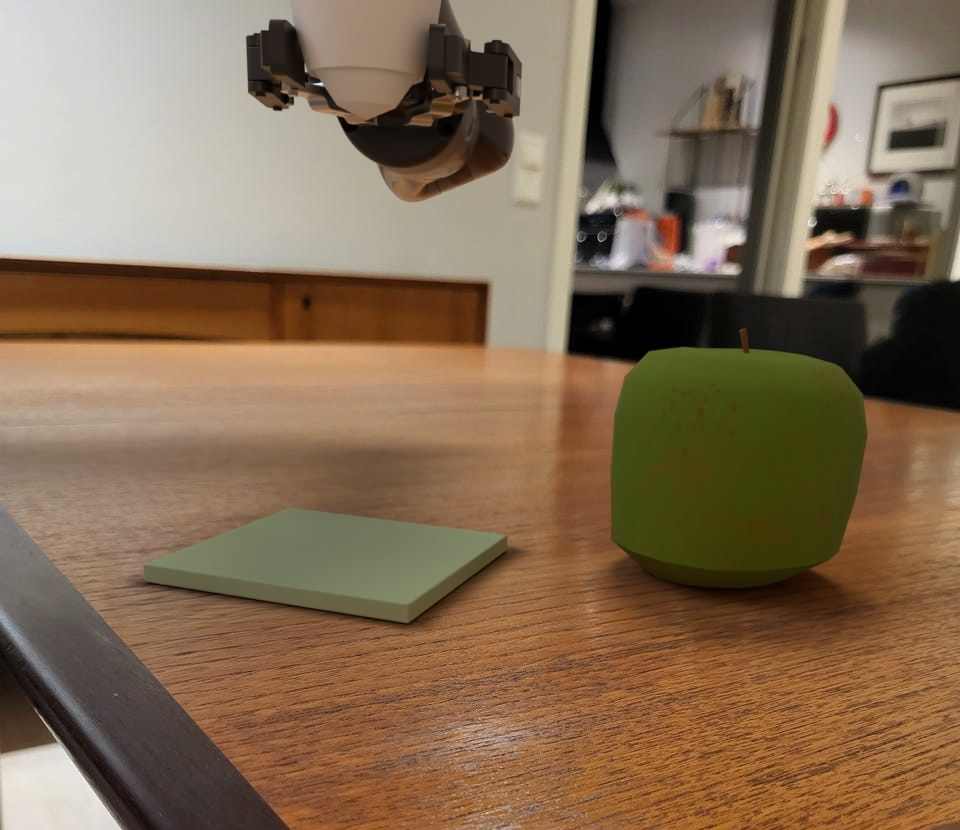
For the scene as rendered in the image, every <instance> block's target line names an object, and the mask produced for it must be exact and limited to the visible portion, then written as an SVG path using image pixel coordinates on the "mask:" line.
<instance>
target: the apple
mask: <svg viewBox="0 0 960 830" xmlns="http://www.w3.org/2000/svg"><path fill="white" fill-rule="evenodd" d="M738 332H739V336H740V342H741V347H742V348H724V347H723V348H719V347H718V348H715V347H714V348H713V347H712V348H708V347H690V346H689V347H688V346H681V347H672V348H663V349H656V350H649V351H648V352H647V353H645V355H644V356H643V357H642V358H641V359H640V360H639V361H638V362H637V363H636V364H635V365H634V366H633V367H632V368H631V369H630V370H629V371H628V372H627V373H626V374H625V375H624V377H623V380H622V384H621V388H620V393H619V396H618V400H617V403H616V407H615V411H614V415H613V416H614V417H613V431H612V443H611V445H612V447H611V458H610V522H611V524H610V525H611V526H610V527H611V528H610V540H611V541H612V542H613V543H614V544H616V546H618V547H619V548H620V550H622V551H624V552H625V553H626V554H627V555H628V556H629V557H630V558H631V559H633V561H635V562H636V563H638V564H639V565H640V567H642V568H643V569H644V570H645V571H647V572H648V573H650V574H651V575H653V576H654V577H655V578H657V579H660V580H663V581H667V582H670V583H674V584H677V585H682V586H692V587H700V588H701V587H702V588H710V589H714V588H715V589H746V588H756V587H763V586H764V587H765V586H770V585H773V584H776V583H778V582H781V581H784V580H787V579H789V578H792V577H794V576H796V575H799V574H800V573H803V572H806V571H809V570H811V569H813V568H815V567H818V566H820V565H822V564H824V563H827V562H829V561H831V560H832V559H833V558H834V557H835V556H836V555H838V553H840V549H841V546H842V543H843V540H844V538H845V537H844V536H845V534H846V531H847V528H848V524H849V521H850V518H851V514H852V511H853V508H854V505H855V501H856V499H857V495H858V490H859V485H860V479H861V474H862V469H863V463H864V457H865V452H866V445H867V442H868V434H869V433H868V425H867V418H866V409H865V401H864V394H863V392H862V391H861V390H860V389H859V387H858V386H857V385H856V384H855V383H854V381H853V380H852V379H851V378H850V376H849V375H848V373H847V372H846V371H845V370H844V369H843V368H842V367H841V366H839V365H838V364H836V363H833V362H830V361H826V360H822V359H819V358H816V357H812V356H808V355H804V354H801V353H794V352H785V351H777V350H770V349H769V350H768V349H767V350H766V349H756V348H755V349H754V348H750V347H749V338H748V329H747V327H743V328H742V329H741V328H740V329H739V331H738Z"/></svg>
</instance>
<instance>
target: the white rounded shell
mask: <svg viewBox="0 0 960 830" xmlns="http://www.w3.org/2000/svg"><path fill="white" fill-rule="evenodd" d="M289 2H290V10H291V15H292V22H293V26H294V27H295V29H296V33H297V36H298V40H299V43H300V47H301V50H302V54H303V57H304V61H305V69H306V72H308V73H309V74H310V76H312V77H315V78H318V79H320V80H321V82H322V83H323V85H324V86H325V88H326V89H327V91H328V92H329V94H330V96H331V97H332V99H333V100H334V102H335V103H336V104H337V106H339V107H341V108H343V109H345V110H347V111H349V112H351V113H353V114H355V115H356V116H358V117H360V118H362V119H364V120H368V119H371V118H373V117H375V116H378V115H380V114H383V113H385V112H387V111H390V110H392V109H395V108H396V107H397V105H398V104H399V103H400V101H401V100H402V98H403V97H404V96H405V94H406V93H407V91H408V90H409V89H410V87H411V86H412V85H414V84H417V83H420V82H422V81H423V78H424V75H425V71H426V68H427V64H428V61H429V26H430V24H438V18H439V12H440V5H441V0H289Z"/></svg>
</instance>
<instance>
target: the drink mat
mask: <svg viewBox="0 0 960 830" xmlns="http://www.w3.org/2000/svg"><path fill="white" fill-rule="evenodd" d="M508 537H509V536H508V535H507V534H505V533H498V532H497V533H495V532H490V531H489V532H487V531H481V530H472V529H464V528H456V527H449V526H440V525H433V524H424V523H417V522H410V521H409V522H407V521H401V520H400V521H399V520H394V519H393V520H392V519H385V518H376V517H369V516H368V517H367V516H361V515H353V514H344V513H338V512H337V513H336V512H328V511H321V510H312V509H304V508H297V507H288V508H284V509H283V510H280V511H277V512H275V513H272V514H269V515H267V516H265V517H261V518H259V519H257V520H254V521H251V522H248V523H247V524H244V525H241V526H239V527H236V528H233V529H230V530H228V531H225V532H223V533H220V534H218V535H215V536H212V537H210V538H207V539H205V540H202V541H199V542H197V543H194V544H192V545H189V546H187V547H184V548H181V549H178V550H176V551H173V552H171V553H169V554H166V555H163V556H161V557H157V558H155V559H153V560H150V561H148V562H145V563H143V565H142V566H143V579H144V582H145V583H151V584H157V585H164V586H170V587H175V588H181V589H182V588H183V589H189V590H194V591H202V592H209V593H213V594H220V595H226V596H231V597H238V598H245V599H253V600H258V601H264V602H271V603H277V604H283V605H290V606H297V607H302V608H309V609H314V610H321V611H327V612H334V613H341V614H348V615H352V616H358V617H365V618H371V619H378V620H385V621H391V622H396V623H402V624H409V623H410V622H412V621H413V620H415V619H416V618H418V617H419V616H420V615H421V614H423V613H424V612H425V611H427V610H428V609H429V608H431V607H432V606H434V605H435V604H436V603H438V602H439V601H440V600H442V599H443V598H444V597H447V595H449V594H450V593H451V592H453V591H454V590H455V589H457V588H458V587H459V586H460V585H463V583H465V582H466V581H467V580H469V579H470V578H471V577H473V576H474V575H475V574H477V573H478V572H479V571H481V570H483V568H485V567H486V566H487V565H489V564H490V563H491V562H493V561H494V560H495V559H497V558H498V557H500V556H501V555H502V554H504V553H505V552H506V551H507V550H508V539H509V538H508Z"/></svg>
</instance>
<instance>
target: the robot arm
mask: <svg viewBox="0 0 960 830" xmlns="http://www.w3.org/2000/svg"><path fill="white" fill-rule="evenodd" d="M245 47H246V48H245V49H246V51H245V52H246V75H247V94H249V95H250V96H251V97H253V98H254V99H255V100H256V101H258V102H259V103H261V104H262V105H263V106H264V107H266V108H269V109H272V111H274V112H283V110H289V109H290V107H294V106H295V98H297V97H299V98H304V99H306V101H307V103H308V106H309V107H310V109H311V110H312V111H313V112H317V113H321V114H322V113H323V114H325V115H326V114H327V115H332V116H336V118H337V121H338V123H339V125H340V127H341V129H342V131H343V133H344V135H345V136H346V138H347V140H348V141H349V142H350V143H351V145H352V146H353V147H354V148H355V149H356V150H357V151H358V152H359V153H360V154H361V155H362V156H364V157H365V158H367V159H368V160H370V161H372V162H374V163H375V164H376V167H377V169H378V171H379V173H380V175H381V178H382V180H383V181H384V183H385V184H386V186H387V187H388V189H390V192H391V193H393V194H394V195H395V196H396V197H397V198H398V199H400V200H401V201H404V202H407V203H419V202H423V201H426V200H429V199H432V198H434V197H437V196H440V195H441V194H442V193H446V192H449V191H451V190H454V189H456V188H459V187H462V186H464V185H466V184H468V183H471V182H473V181H475V180H479V179H481V178H485V177H486V176H489V175H491V174H494V173H496V172H498V171H499V170H501V169H503V168H504V167H505V166H506V164H508V162H509V160H510V159H511V155H512V153H513V150H514V145H515V126H514V121H513V119H514V117H516V118H517V117H520V115H521V96H522V95H521V94H522V72H523V63H522V61H521V60H520V58H519V57H518V55H517V53H515V51H514V49H513V48H512V46H511V45H510V44H509V43H508V42H503V40H502V39H492V40H491V41H487V42H484V43H483V52H482V51H474V50H473V49H472V40H470V39H468V38H466V37H465V36H464V34H463V31H462V29H461V27H460V25H459V23H458V21H457V19H456V15H455V13H454V10H453V8H452V5H451V2H450V1H449V0H441V5H440V12H439V18H438V24H430V26H429V61H428V64H427V68H426V71H425V75H424V78H423V81H422V82H420V83H417V84H414V85H412V86H411V87H410V89H409V90H408V91H407V93H406V94H405V96H404V97H403V98H402V100H401V101H400V103H399V104H398V105H397V107H396V108H395V109H392V110H390V111H387V112H385V113H383V114H380V115H378V116H375V117H373V118H371V119H368V120H364V119H362V118H360V117H358V116H356V115H355V114H353V113H351V112H349V111H347V110H345V109H343V108H341V107H339V106H337V104H336V103H335V102H334V100H333V99H332V97H331V96H330V94H329V92H328V91H327V89H326V88H325V86H324V85H323V83H322V82H321V80H320V79H318V78H315V77H312V76H310V74H309V73H308V71H306V64H305V61H304V57H303V54H302V50H301V47H300V43H299V40H298V36H297V33H296V29H295V26H294V24H292V23H291V22H289V20H287V19H282V18H281V19H280V18H279V19H276V18H270V19H269V21H268V29H261V30H260V32H254V33H252V34H249V35H248V34H247V35H246V36H245Z"/></svg>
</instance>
